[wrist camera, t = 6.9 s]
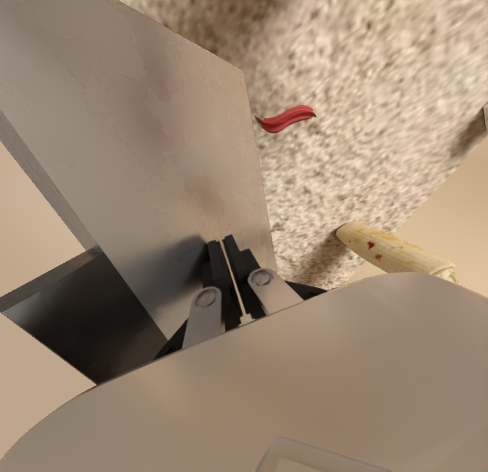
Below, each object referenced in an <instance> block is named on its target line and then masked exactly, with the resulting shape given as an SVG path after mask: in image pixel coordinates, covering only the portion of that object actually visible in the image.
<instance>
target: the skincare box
mask: <svg viewBox="0 0 488 472" xmlns="http://www.w3.org/2000/svg"><path fill="white" fill-rule="evenodd" d="M483 109H484V117H485V126H486V129H488V103H487V104H486V105H485V106H484V107H483Z"/></svg>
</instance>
